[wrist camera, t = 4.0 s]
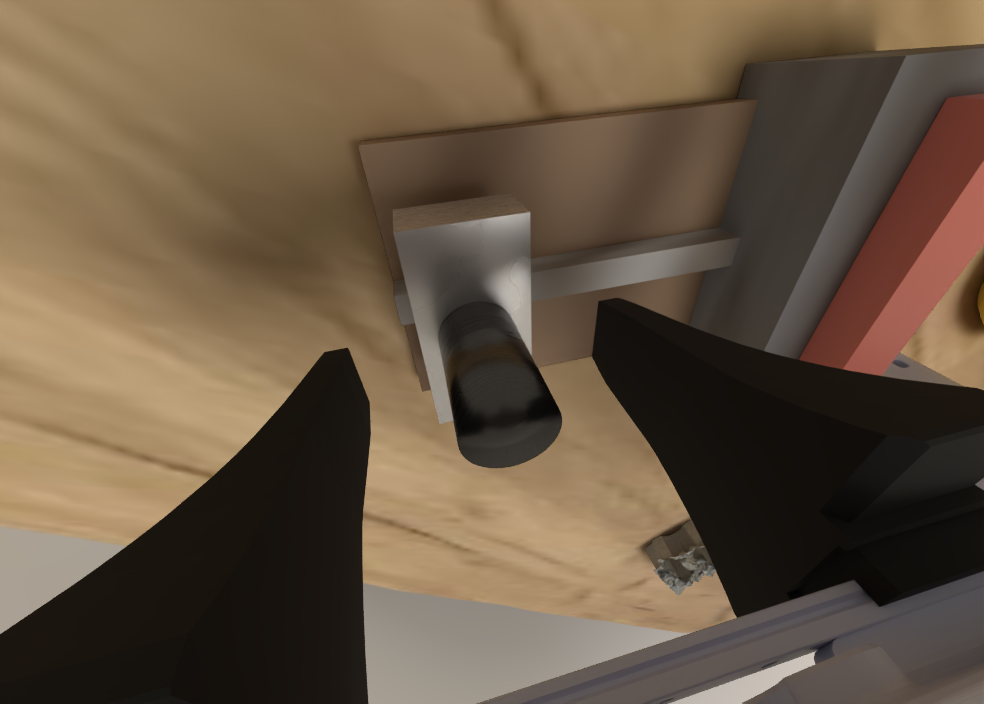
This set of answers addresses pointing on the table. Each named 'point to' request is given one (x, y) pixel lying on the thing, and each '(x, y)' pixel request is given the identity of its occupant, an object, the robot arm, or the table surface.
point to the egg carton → (680, 558)
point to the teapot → (981, 302)
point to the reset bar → (911, 247)
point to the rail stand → (691, 195)
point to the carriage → (478, 324)
